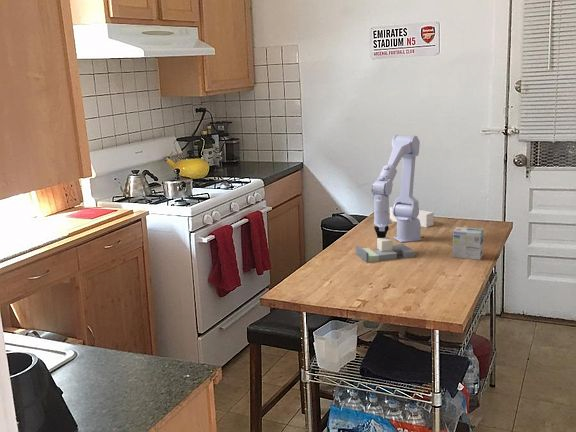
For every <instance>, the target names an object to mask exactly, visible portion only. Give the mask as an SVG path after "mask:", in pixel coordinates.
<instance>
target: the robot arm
mask: <svg viewBox="0 0 576 432" xmlns="http://www.w3.org/2000/svg"><path fill="white" fill-rule="evenodd" d="M420 145H421V144H420V139H419V137H418V135H400V134H399V135H398V134H395V135H394V136H393V137H392V139H391V153H390V156H389V159H388V161H387V164H386V165H383V167H382V169H381V171H380V174H379V176H378V178H377V180H375V181H373V182H372V184H371V188H370V191H371V194H372V199H373V207H374V208H373V210H374V211H373V220H374V221H373V225H375V226H374V227H373V228H374V231H375V234H376V238H386V237H387V233H388V231H389V230H390V228H389V225H392V223H393V221H392V220H390V195H391V194H392V191H393V186H394V183H393V182H394V179H395V177H396V175H397V174H398V170H397V167H398V165H399V163H400V161H401V159H402V168H401V169H402V171H401V182H400V183H401V184H400V194H399V196H398V197H397V198H395V199H394V203H393V206H392V207H393V215H394V216H395V217H396V219H397V222H396V236H393V237H392V238H393V239H395V240H396V241H398V242H400V243H406V242H415V241H422V237H421V232H422V231H421V229H422V227H421V224H420V220H419V219H418V218H417V217H418V215H419V210H420V207H419V205H420V204H419V200H417V199H416V197H414V195H413V194H414V193H413V192H414V183H415V182H414V181H415V180H414V179H415V171H416V170H415V169H416V157H417V156H419V153H420Z"/></svg>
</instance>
